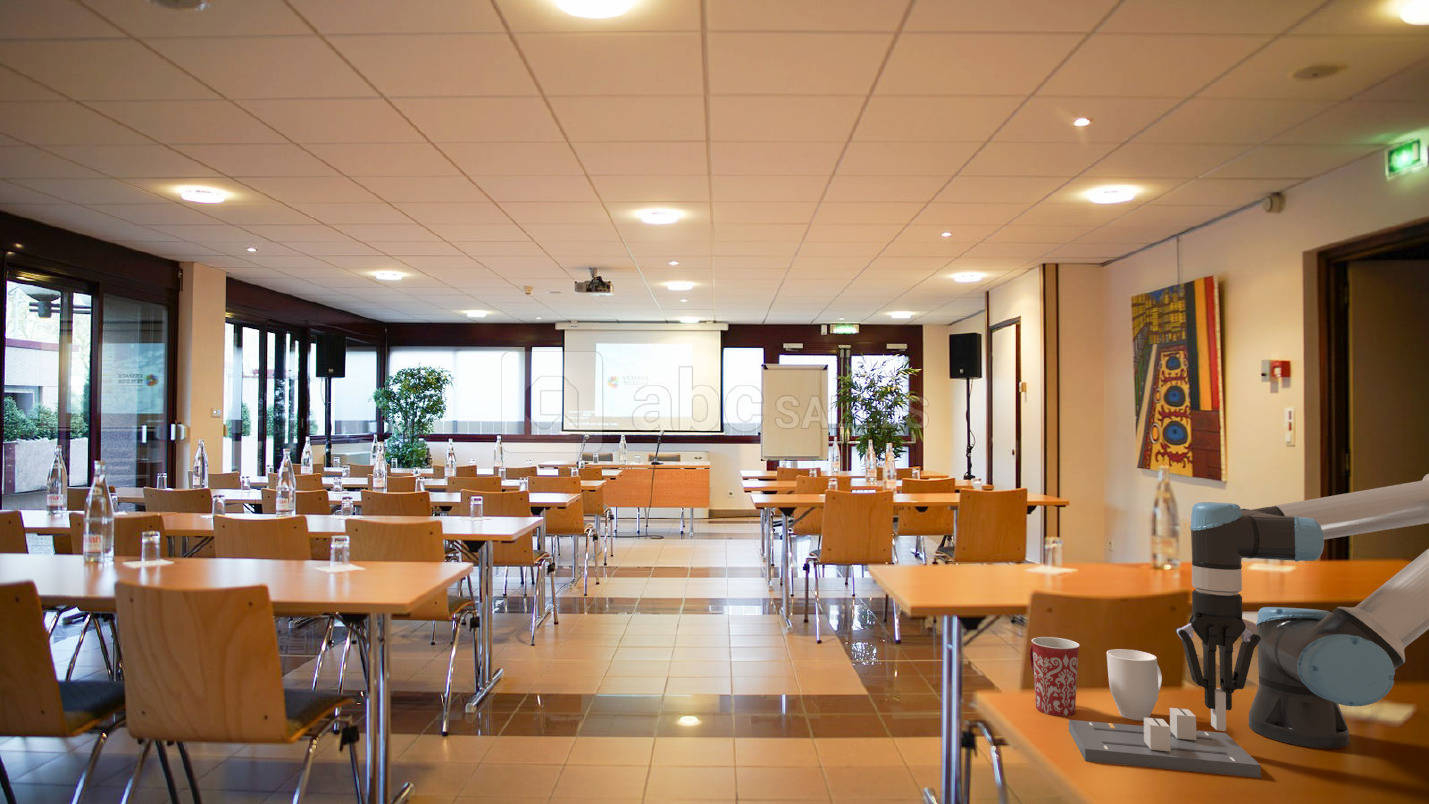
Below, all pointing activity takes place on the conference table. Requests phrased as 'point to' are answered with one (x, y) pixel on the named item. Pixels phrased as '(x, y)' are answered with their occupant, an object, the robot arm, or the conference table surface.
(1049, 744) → the conference table surface
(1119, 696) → the mug
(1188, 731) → the block
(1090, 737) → the console
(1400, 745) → the conference table surface
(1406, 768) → the conference table surface
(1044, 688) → the mug
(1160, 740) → the fader
